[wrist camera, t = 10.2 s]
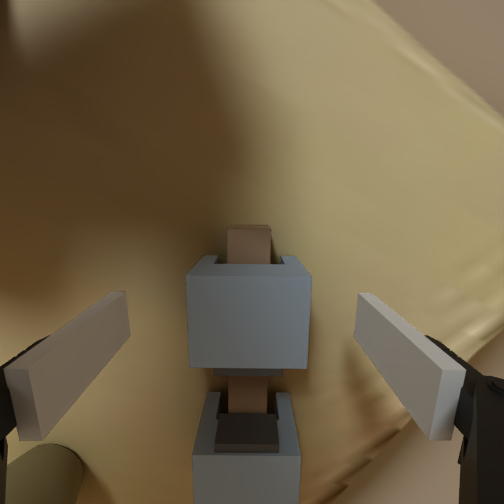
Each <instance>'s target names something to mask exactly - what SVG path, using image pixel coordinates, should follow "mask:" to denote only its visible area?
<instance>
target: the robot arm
mask: <svg viewBox="0 0 504 504" xmlns="http://www.w3.org/2000/svg"><path fill="white" fill-rule="evenodd" d="M129 337H130V330H129V320H128V310H127V300H126V292H117V291H112V292H110V293H109V294H108V295H106V296H105V297H103V298H102V299H101V300H99V301H98V302H96V303H95V304H94V305H92V306H91V307H89V308H88V309H87V310H85V311H84V312H82V313H81V314H80V315H78V316H77V317H75V318H74V319H73V320H71V321H70V322H68V323H67V324H66V325H64V326H63V327H61V328H60V329H59V330H57V331H56V332H54V333H53V334H52V335H49V336H47V337H45V338H43V339H41V340H38V341H36V342H35V343H34V344H32V345H31V346H29V347H28V348H26V350H24V351H22V352H21V353H19V354H18V355H17V357H13V358H12V359H11V360H9V361H8V362H6V363H5V364H3V365H2V366H0V504H5V495H6V474H7V453H8V444H7V440H6V436H7V435H8V434H9V433H10V432H11V431H12V430H13V429H14V428H15V427H17V432H18V436H19V440H20V441H43V440H44V438H45V437H46V436H47V435H48V434H49V432H50V431H51V430H52V429H53V428H54V426H55V425H56V424H57V423H58V422H59V420H60V419H61V418H62V417H63V416H64V414H65V413H66V412H67V411H68V410H69V409H70V407H71V406H72V405H73V404H74V403H75V401H76V400H77V399H78V398H79V397H80V395H81V394H82V393H83V392H84V391H85V389H86V388H87V387H88V386H89V385H90V383H91V382H92V381H93V380H94V379H95V377H96V376H97V375H98V374H99V373H100V371H101V370H102V369H103V368H104V367H105V365H106V364H107V363H108V362H109V361H110V359H111V358H112V357H113V356H114V355H115V354H116V352H117V351H118V350H119V349H120V348H121V346H122V345H123V344H124V343H125V342H126V340H127V339H128V338H129ZM354 338H355V339H356V341H357V342H358V343H359V345H360V346H361V348H362V349H363V350H364V352H365V353H366V354H367V356H368V357H369V359H370V360H371V361H372V363H373V364H374V365H375V367H376V368H377V370H378V371H379V372H380V374H381V375H382V376H383V378H384V379H385V381H386V382H387V383H388V385H389V386H390V387H391V389H392V390H393V392H394V393H395V394H396V396H397V397H398V398H399V400H400V401H401V403H402V404H403V405H404V407H405V408H406V409H407V411H408V412H409V414H410V415H411V416H412V418H413V419H414V420H415V422H416V423H417V425H418V426H419V427H420V429H421V430H422V431H423V433H424V434H425V436H426V437H427V438H428V440H451V439H452V434H453V429H454V425H455V426H456V427H457V428H458V429H459V431H460V432H461V433H462V434H463V435H464V437H463V441H462V445H461V450H460V454H459V459H458V464H460V465H461V467H460V488H459V504H504V379H501V378H497V377H493V376H483V375H482V374H481V373H479V372H478V371H477V370H476V369H474V368H473V367H472V366H471V365H469V364H468V363H467V362H465V361H464V360H463V359H462V358H460V357H458V356H457V355H456V354H455V353H454V352H453V351H450V349H449V348H447V347H446V346H445V345H444V344H442V343H441V342H439V341H437V340H435V339H433V338H431V337H430V336H428V335H423V334H422V333H420V332H419V331H418V330H417V329H415V328H414V327H413V326H412V325H411V324H409V323H408V322H407V321H406V320H404V319H403V318H402V317H401V316H399V315H398V314H397V313H396V312H395V311H393V310H392V309H391V308H390V307H388V306H387V305H386V304H385V303H383V302H382V301H381V300H380V299H379V298H377V297H376V296H375V295H374V294H372V293H358V301H357V310H356V320H355V329H354Z"/></svg>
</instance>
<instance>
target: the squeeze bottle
mask: <svg viewBox="0 0 504 504" xmlns="http://www.w3.org/2000/svg"><path fill="white" fill-rule="evenodd" d="M83 471H84V470H83V467H82V464H81V461H80V460H79V459H78V457H77V456H76V455H75V454H74V453H73V452H72V451H70V450H68V449H66V448H65V447H63V446H59V445H54V444H44V445H38V446H36V447H35V448H33V449H31V450H29V451H28V452H26V453H25V454H23V455H22V456H20V457H19V458H17V459H16V460H14V461H13V462H11V463H10V464H8V465H7V474H6V495H5V504H75V502H76V499H77V496H78V492H79V489H80V485H81V482H82V477H83Z"/></svg>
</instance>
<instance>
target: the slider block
mask: <svg viewBox="0 0 504 504" xmlns="http://www.w3.org/2000/svg"><path fill="white" fill-rule="evenodd" d="M192 469H193V493H194V504H299V491H300V473H301V452H300V446H299V441H298V436H297V431H296V425H295V420H294V415H293V410H292V404H291V399H290V394H289V393H276V407H275V414H223V413H221V394H220V392H207V394H206V399H205V403H204V407H203V411H202V415H201V419H200V424H199V428H198V432H197V436H196V440H195V444H194V449H193V453H192Z"/></svg>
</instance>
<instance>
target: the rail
mask: <svg viewBox="0 0 504 504" xmlns="http://www.w3.org/2000/svg"><path fill="white" fill-rule="evenodd" d="M270 252H271V229H270V227H269V226H268V225H230V227H229V228H228V229H227V264H270ZM267 380H268V376H228V414H267Z"/></svg>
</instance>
